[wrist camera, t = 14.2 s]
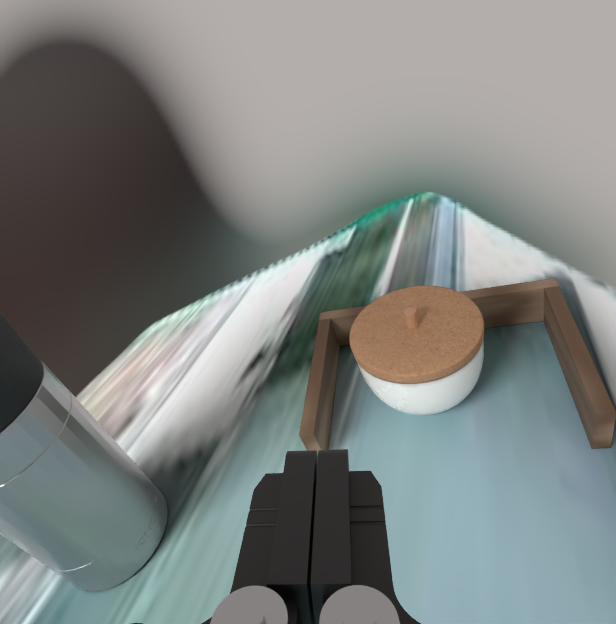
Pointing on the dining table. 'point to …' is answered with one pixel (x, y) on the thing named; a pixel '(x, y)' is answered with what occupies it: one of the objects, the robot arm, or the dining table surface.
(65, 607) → the dining table surface
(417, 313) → the lidded jar
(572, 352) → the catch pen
